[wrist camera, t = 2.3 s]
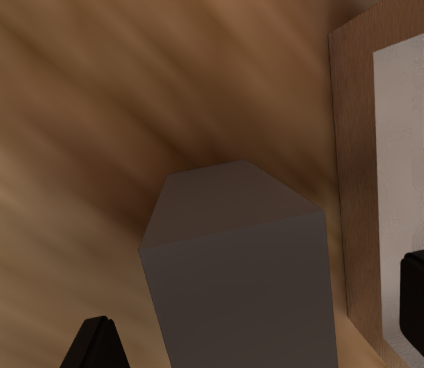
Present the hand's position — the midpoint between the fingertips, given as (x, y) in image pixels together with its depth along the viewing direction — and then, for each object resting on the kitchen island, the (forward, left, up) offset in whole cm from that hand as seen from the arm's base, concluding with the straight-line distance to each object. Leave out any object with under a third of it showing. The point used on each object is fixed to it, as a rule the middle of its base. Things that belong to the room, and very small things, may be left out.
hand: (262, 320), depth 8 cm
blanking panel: (-1, +1, -6) cm, 6 cm away
